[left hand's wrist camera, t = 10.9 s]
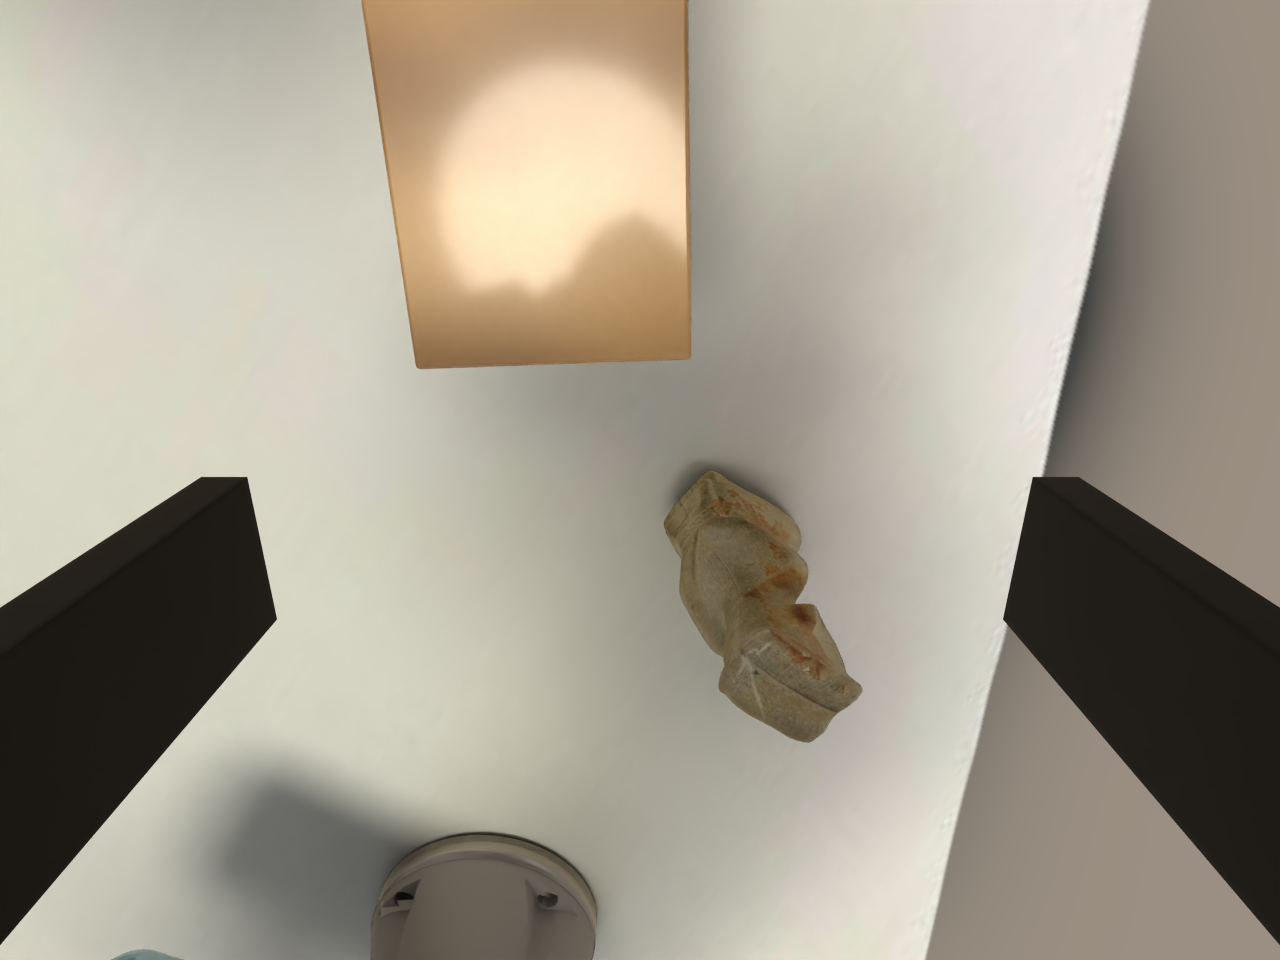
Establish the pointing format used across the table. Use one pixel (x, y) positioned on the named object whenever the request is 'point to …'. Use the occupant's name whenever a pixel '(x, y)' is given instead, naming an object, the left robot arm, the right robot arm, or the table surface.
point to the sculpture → (757, 608)
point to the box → (538, 176)
